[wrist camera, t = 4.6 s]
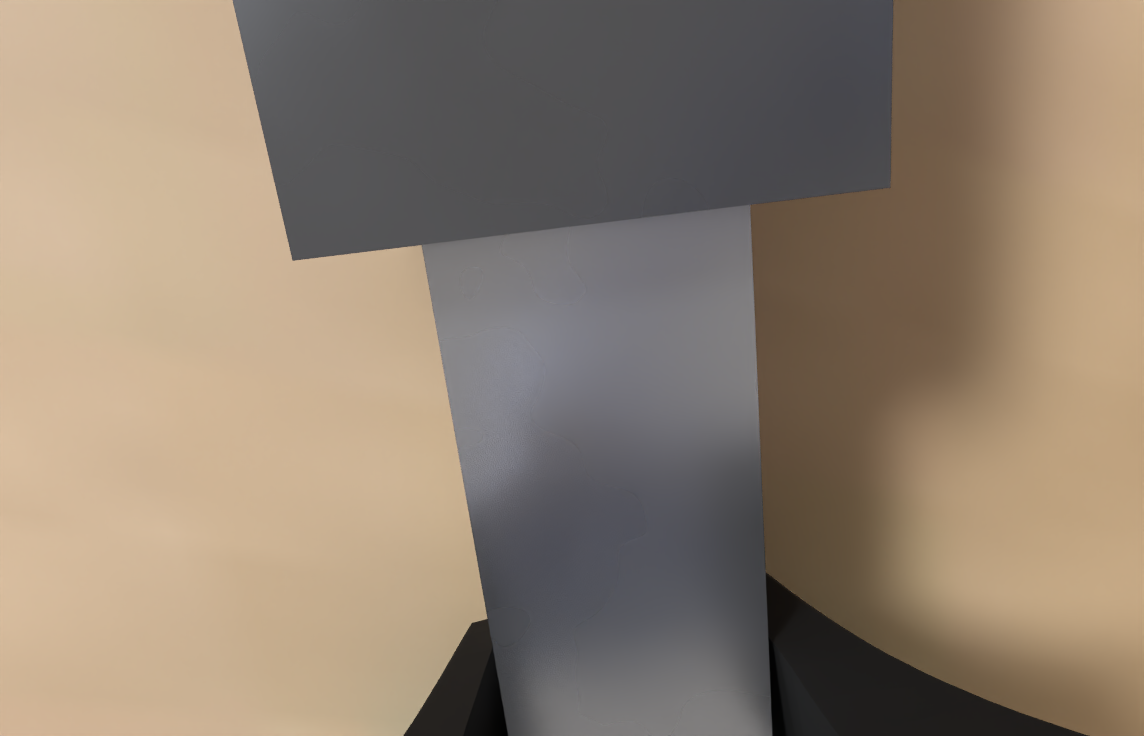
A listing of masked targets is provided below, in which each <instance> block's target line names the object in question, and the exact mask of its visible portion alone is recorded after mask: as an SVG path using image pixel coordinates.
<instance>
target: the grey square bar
mask: <svg viewBox="0 0 1144 736" xmlns="http://www.w3.org/2000/svg"><path fill="white" fill-rule="evenodd" d="M422 249H423V255H424V261H425V266H426V272H427V278H428V283H429V289H430V295H431V300H432V306H433V312H434V317H435V323H436V329H437V334H438V340H439V346H440V351H441V357H442V363H443V368H444V374H445V380H446V385H447V391H448V397H449V402H450V408H451V414H452V419H453V425H454V431H455V436H456V442H457V448H458V453H459V459H460V465H461V470H462V476H463V482H464V487H465V493H466V499H467V504H468V510H469V516H470V521H471V527H472V533H473V538H474V544H475V550H476V555H477V561H478V567H479V572H480V578H481V584H482V589H483V595H484V601H485V606H486V612H487V618H488V623H489V629H490V635H491V640H492V646H493V652H494V657H495V663H496V669H497V674H498V680H499V686H500V691H501V697H502V703H503V708H504V714H505V720H506V725H507V731H508V736H772V715H771V691H770V667H769V643H768V619H767V595H766V571H765V548H764V524H763V500H762V476H761V452H760V428H759V404H758V380H757V357H756V333H755V309H754V285H753V261H752V237H751V213H750V205H744V206H736V207H728V208H719V209H711V210H703V211H695V212H687V213H678V214H670V215H662V216H654V217H646V218H637V219H629V220H621V221H613V222H605V223H596V224H588V225H580V226H572V227H564V228H556V229H547V230H539V231H531V232H523V233H515V234H506V235H498V236H490V237H482V238H474V239H465V240H457V241H449V242H441V243H433V244H425V245H422Z"/></svg>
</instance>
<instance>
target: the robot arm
mask: <svg viewBox="0 0 1144 736" xmlns="http://www.w3.org/2000/svg"><path fill="white" fill-rule="evenodd" d="M766 595H767V619H768V643H769V667H770V691H771V715H772V736H1088V735H1084V734H1081V733H1078V732H1075V731H1072V730H1069V729H1066V728H1063V727H1060V726H1057V725H1054V724H1051V723H1048V722H1045V721H1042V720H1039V719H1037V718H1034V717H1031V716H1028V715H1025V714H1022V713H1019V712H1017V711H1014V710H1011V709H1009V708H1006V707H1003V706H1001V705H998V704H996V703H993V702H990V701H988V700H985V699H983V698H981V697H978V696H976V695H974V694H971V693H969V692H967V691H964V690H962V689H959V688H957V687H955V686H952V685H950V684H948V683H945V682H943V681H941V680H939V679H937V678H934V677H932V676H930V675H928V674H926V673H924V672H922V671H920V670H918V669H916V668H914V667H912V666H910V665H908V664H906V663H904V662H902V661H900V660H898V659H896V658H894V657H892V656H890V655H888V654H886V653H885V652H883V651H881V650H879V649H878V648H876V647H874V646H872V645H871V644H869V643H867V642H866V641H864V640H862V639H861V638H859V637H857V636H856V635H854V634H853V633H851V632H849V631H848V630H846V629H844V628H843V627H841V626H840V625H838V624H837V623H835V622H834V621H832V620H831V619H829V618H828V617H826V616H825V615H823V614H822V613H820V612H819V611H817V610H816V609H815V608H813V607H812V606H810V605H809V604H807V603H806V602H805V601H803V600H802V599H800V598H799V597H798V596H796V595H795V594H793V593H792V592H791V591H789V590H788V589H787V588H785V587H784V586H783V585H782V584H780V583H779V582H778V581H776V580H775V579H774V578H773V577H771V576H770V575H769V574H767V573H766ZM404 736H508V731H507V725H506V720H505V714H504V708H503V703H502V697H501V691H500V686H499V680H498V674H497V669H496V663H495V657H494V652H493V646H492V640H491V635H490V629H489V623H488V619H486V620H482V621H478V622H474V623H472V624H471V626H470V627H469V629H468V630H467V632H466V634H465V635H464V637H463V639H462V640H461V642H460V644H459V646H458V647H457V649H456V651H455V653H454V654H453V656H452V658H451V660H450V661H449V663H448V665H447V667H446V668H445V670H444V672H443V673H442V675H441V677H440V679H439V680H438V682H437V684H436V685H435V687H434V688H433V690H432V692H431V693H430V695H429V697H428V698H427V700H426V702H425V703H424V705H423V707H422V708H421V710H420V711H419V713H418V715H417V716H416V718H415V719H414V721H413V722H412V724H411V725H410V727H409V728H408V730H407V731H406V733H405V734H404Z"/></svg>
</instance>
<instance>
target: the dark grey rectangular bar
mask: <svg viewBox="0 0 1144 736" xmlns="http://www.w3.org/2000/svg"><path fill="white" fill-rule="evenodd" d="M233 4H234V8H235V13H236V17H237V21H238V26H239V30H240V34H241V39H242V43H243V47H244V52H245V56H246V60H247V65H248V69H249V73H250V78H251V82H252V86H253V91H254V95H255V99H256V104H257V108H258V112H259V117H260V121H261V125H262V130H263V134H264V138H265V143H266V147H267V151H268V156H269V160H270V164H271V169H272V173H273V177H274V182H275V186H276V190H277V195H278V199H279V203H280V208H281V212H282V216H283V221H284V225H285V229H286V234H287V238H288V242H289V247H290V251H291V255H292V260H302V259H310V258H318V257H326V256H334V255H343V254H351V253H359V252H367V251H375V250H384V249H392V248H400V247H408V246H416V245H425V244H433V243H441V242H449V241H457V240H465V239H474V238H482V237H490V236H498V235H506V234H515V233H523V232H531V231H539V230H547V229H556V228H564V227H572V226H580V225H588V224H596V223H605V222H613V221H621V220H629V219H637V218H646V217H654V216H662V215H670V214H678V213H687V212H695V211H703V210H711V209H719V208H728V207H736V206H744V205H752V204H760V203H768V202H777V201H785V200H793V199H801V198H809V197H818V196H826V195H834V194H842V193H850V192H859V191H867V190H875V189H883V188H890V181H891V111H892V41H893V0H233Z"/></svg>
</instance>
